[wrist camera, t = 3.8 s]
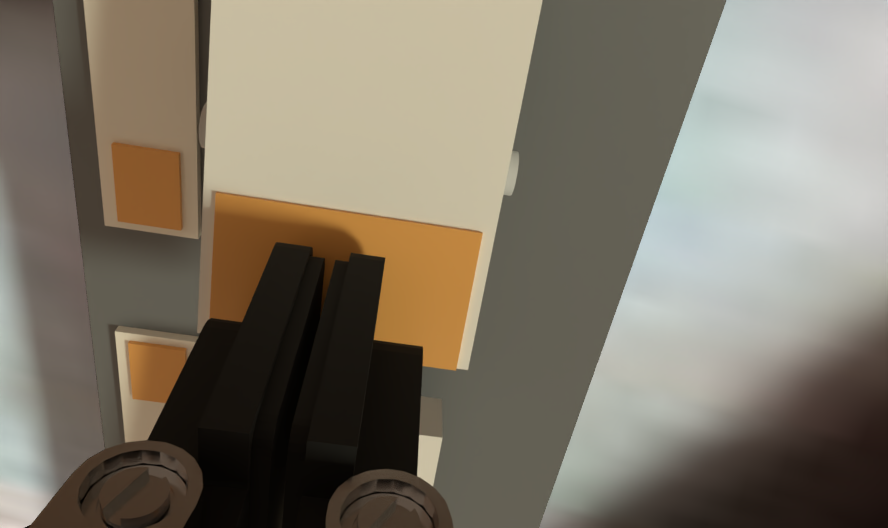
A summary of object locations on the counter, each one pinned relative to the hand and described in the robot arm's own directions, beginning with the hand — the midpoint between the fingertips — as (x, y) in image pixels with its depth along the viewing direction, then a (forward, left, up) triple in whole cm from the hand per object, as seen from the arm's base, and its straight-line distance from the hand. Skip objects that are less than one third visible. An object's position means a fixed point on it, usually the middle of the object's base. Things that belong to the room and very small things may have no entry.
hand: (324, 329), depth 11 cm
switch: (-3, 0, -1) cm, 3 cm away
